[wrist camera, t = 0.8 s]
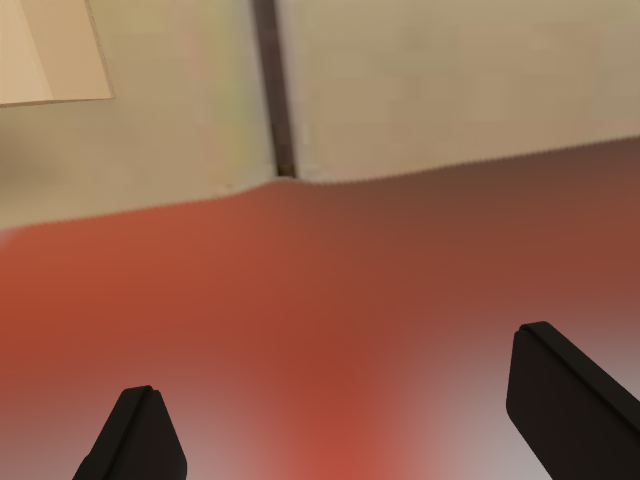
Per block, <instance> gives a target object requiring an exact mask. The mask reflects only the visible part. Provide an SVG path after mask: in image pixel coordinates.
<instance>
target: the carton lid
mask: <svg viewBox="0 0 640 480" xmlns="http://www.w3.org/2000/svg"><path fill="white" fill-rule="evenodd" d="M47 100H54V99H53V96H52V93H51V90H50V87H49V84H48V82H47V79H46V76H45V73H44V70H43V67H42V64H41V61H40V58H39V55H38V52H37V49H36V46H35V44H34V41H33V38H32V35H31V32H30V29H29V26H28V23H27V20H26V17H25V14H24V11H23V8H22V5H21V3H20V0H0V104H11V103H23V102H35V101H47Z"/></svg>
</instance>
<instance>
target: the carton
mask: <svg viewBox="0 0 640 480" xmlns="http://www.w3.org/2000/svg"><path fill="white" fill-rule="evenodd" d="M20 3H21V5H22V8H23V11H24V14H25V17H26V20H27V23H28V26H29V29H30V32H31V35H32V38H33V41H34V44H35V46H36V49H37V52H38V55H39V58H40V61H41V64H42V67H43V70H44V73H45V76H46V79H47V82H48V84H49V87H50V90H51V93H52V96H53V99H54V100H47V101H35V102H23V103H11V104H0V108H4V107H16V106H28V105H40V104H52V103H64V102H76V101H88V100H100V99H112V98H115V96H114V93H113V89H112V85H111V82H110V78H109V75H108V71H107V67H106V64H105V60H104V57H103V53H102V50H101V46H100V42H99V39H98V35H97V32H96V28H95V25H94V21H93V17H92V14H91V10H90V7H89V3H88V0H20Z"/></svg>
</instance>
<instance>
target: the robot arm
mask: <svg viewBox="0 0 640 480" xmlns="http://www.w3.org/2000/svg"><path fill="white" fill-rule="evenodd" d="M506 409H507V413H508V415H509V417H510V419H511V421H512V422H513V424H514V425H515V426H516V428H517V429H518V431H519V432H520V434H521V435H522V437H523V438H524V439H525V441H526V442H527V444H528V445H529V447H530V448H531V449H532V451H533V452H534V454H535V455H536V457H537V458H538V459H539V461H540V462H541V463H542V465H543V466H544V468H545V469H546V471H547V472H548V474H549V475H550V476H551V478H552V479H553V480H640V401H639V400H637V399H636V398H635V397H634V396H632V394H630V393H629V392H628V391H627V390H626V389H625V388H624V387H622V386H621V385H620V384H619V383H618V382H617V381H615V380H614V379H613V378H612V377H611V376H610V375H608V374H607V373H606V372H605V371H604V370H603V369H601V368H600V367H599V366H598V365H597V364H596V363H595V362H593V361H592V360H591V359H590V358H589V357H587V356H586V355H585V354H584V353H583V352H582V351H581V350H580V349H578V348H577V347H576V346H575V345H574V344H573V343H571V342H570V341H569V340H568V339H567V338H566V337H564V336H563V335H562V334H561V333H560V332H558V331H557V330H556V329H555V328H554V327H553V326H552V325H551V324H549V323H548V322H545V321H541V322H536V323H529V324H524V325H521V327H520V328H519V331H516V333H515V334H514V341H513V349H512V358H511V366H510V374H509V383H508V391H507V399H506ZM186 476H187V461H186V458H185V455H184V453H183V450H182V448H181V445H180V442H179V440H178V437H177V435H176V432H175V429H174V427H173V424H172V422H171V419H170V416H169V414H168V411H167V409H166V406H165V404H164V401H163V398H162V396H161V393H160V392H159V391H158V390H153V388H152V387H151V386H150V385H147V386H140V387H134V388H128V389H125V390H124V391H123V392H122V393H121V395H120V397H119V399H118V400H117V402H116V404H115V406H114V408H113V410H112V412H111V414H110V416H109V417H108V420H107V421H106V423H105V425H104V427H103V429H102V431H101V433H100V435H99V436H98V438H97V440H96V442H95V444H94V446H93V448H92V450H91V451H90V453H89V454H88V455H87V456H86V457H85V458H84V460H83V461H82V463H81V464H80V466H79V468H78V470H77V472H76V474H75V476H74V477H73V479H72V480H186Z"/></svg>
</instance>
